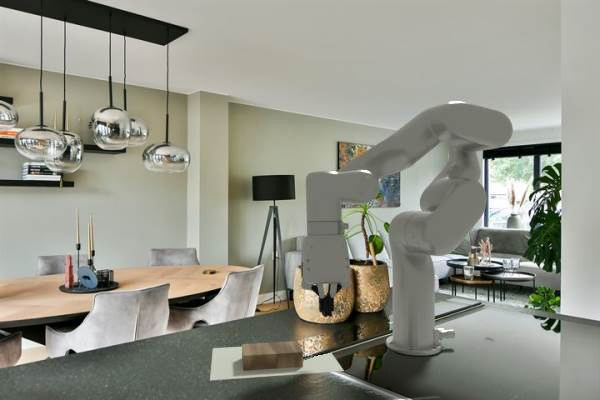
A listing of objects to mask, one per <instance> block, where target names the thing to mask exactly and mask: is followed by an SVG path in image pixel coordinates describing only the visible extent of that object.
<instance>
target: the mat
mask: <svg viewBox="0 0 600 400" xmlns="http://www.w3.org/2000/svg"><path fill="white" fill-rule="evenodd" d="M211 353H212V355H211V364H210V376H209V377H210V378H209V381H210V382H211V381H224V380H225V381H226V380H236V379H237V380H238V379H239V380H241V379H250V378H251V379H253V378H265V377H266V378H267V377H269V378H270V377H280V376H281V377H283V376H295V375H311V374H323V373H324V374H325V373H339V372H344V371H345V370H344V369H343V368H342V366H341V365H340V363H339V361H338V360H337V358H336V357H335V356H334V354H333V353H332V352H331V353H328V354H323V355H318V356H314V357H313V358H310V359H307V360H304V361H303V367H294V368H279V369H264V370H249V371H243V362H242V346H232V347H231V346H229V347H227V346H226V347H213V348H212V352H211Z"/></svg>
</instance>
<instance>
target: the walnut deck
mask: <svg viewBox="0 0 600 400" xmlns="http://www.w3.org/2000/svg"><path fill="white" fill-rule="evenodd" d="M299 343H300V342H299V341H297V340H296V341H295V340H294V341H293V340H292V341H278V342H274V341H272V342H258V343H256V342H255V343H241V347H242V362H243V371H249V370H264V369H279V368H294V367H303V351H302V349H301V347H300V345H299Z"/></svg>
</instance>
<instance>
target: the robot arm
mask: <svg viewBox="0 0 600 400" xmlns="http://www.w3.org/2000/svg"><path fill="white" fill-rule="evenodd" d="M513 132H514V128H513V123H512V121H511V119H510V118H509V117H508V115H507V114H505V113H503V112H502V111H499V110H496V109H493V108H490V107H484V106H482V105H477V104H472V103H470V102H464V101H458V100H456V101H453V100H452V101H448V102H445V103H441V104H439V105H435V106H432V107H428V108H427V109H424V110H422V111H421V112H420V113H418V114H417V115H416V116H414V117H413V118H412V119H411V120H410V121H408V122H407V123H405V124H404V125H403V126H402V127H400V128H399V129H397V130H396V131H395V132H394V133H392V134H391V135H389V136H388V137H387V138H385V139H384V140H381V141H380V142H378V143H377V144H375V145H373V147H371V148H368V150H366V151H364V152H362V153H360V154H359V155H357V156H356V157H354V158H353V159H351V160H350V161H349V162H347V163H346V164H345V165H343V166H342V167H340V169H338V170H337V171H333V170H332V171H331V170H326V171H325V170H324V171H322V170H321V171H320V170H319V171H312V172H311V171H310V172H309V173H308V174H307V175H306V176H305V202H306V205H305V206H306V209H305V211H306V235H304V236H303V237H302V242H301V243H302V244H301V251H300V253H301V254H300V255H301V256H300V277H301V283H300V288H301V289H303V290H307V291H313V293H314V294H316V296H317V297H318V311H319V313H321V315H322V316H323V317H324V318H327V317H329V318H332V317H333V313H334V312H335V298H336V295H338V293H339V292H340V290H342V289H345V288H348V287H351V285H352V283H351V264H350V254H349V247H348V242H347V237H346V235H345V234H344V231H346V230H349V228H350V226H349V223H348V222H344V220H343V214H342V213H343V210H342V209H343V208H342V206H343V205H354V206H355V205H356V206H357V205H359V206H360V205H367V204H369V203H372V202H373V201H375V199H376V198H377V197H378V196H379V194H380V190H381V184H380V179H383V178H384V177H388V176H392V175H393V174H398V173H399V172H402V171H405V170H407V169H409V168H411V167H412V166H414V165H415V164H416V163H417V162H419V161H420V160H421V159H422V158H423V157H425V155H427V154H428V153H430V152H431V151H432V150H434V149H435V148H436V147H437V146H439V145H440V144H441V143H443V142H446V146H447V151H448V159H447V160H448V161H447V162H446V164H445V165H444V167H443V168H442V169H441V171H439V173H438V174H437V175H436V176H435V177H434V179H433V180H431V182H430V183H429V184H428V185H427V186H426V188H424V190H423V191H422V193H421V195H420V198H419V207H420V210H406V211H402V212H400V213H398V214H396V215H395V216H394V217H393V218H392V219H391V221H390V223H389V226H388V235H387V236H388V241H389V242H388V243H389V246H390V247H389V248H390V253H391V261H392V264H391V265H392V267H391V268H392V335H389V336H388V337H387V338H386V340H385V345H386V347H387V348H388V349H390V350H392V351H393V352H396V353H398V354H403V355H407V356H419V357H420V356H421V357H422V356H432V355H436V354H438V353H440V352H441V351H442V350H443V343H442V342H441V341H443V339H447V340H449V339H455V337H456V333H455V330H454V329H444V327H443V328H442V327H441V328H438V327H436V326H435V325H436V323H435V321H436V319H435V318H436V307H435V306H436V303H435V302H436V298H435V297H436V294H435V292H436V290H435V288H436V285H435V282H436V279H435V278H436V277H435V275H436V274H435V266H434V262H433V258H432V256H433V257H443V256H447V255H450V254H451V253H452V252H453V251H455V250H456V249H457V248H458V247H459V245H460V244H461V243H462V242H463V241H464V239H465V238H466V237H467V235H468V234H469V233H470V232H471V230H473V229H474V227H475V226H476V224H477V223H478V222H479V221H480V219H481V218H482V217H483V215H484V213H485V211H486V207H487V202H488V197H487V191H486V189H485V187H484V186H483V184H482V183H480V182H479V180H480V178H481V167H480V163H479V158H478V153H477V152H480V151H487V150H494V149H499V148H502V147H503V146H505V145H507V144H508V143H509V142H510V140H511V138H512V136H513ZM324 284H325V285H326V284H328V285H327V292H325V288H324ZM325 293H326V294H325Z"/></svg>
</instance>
